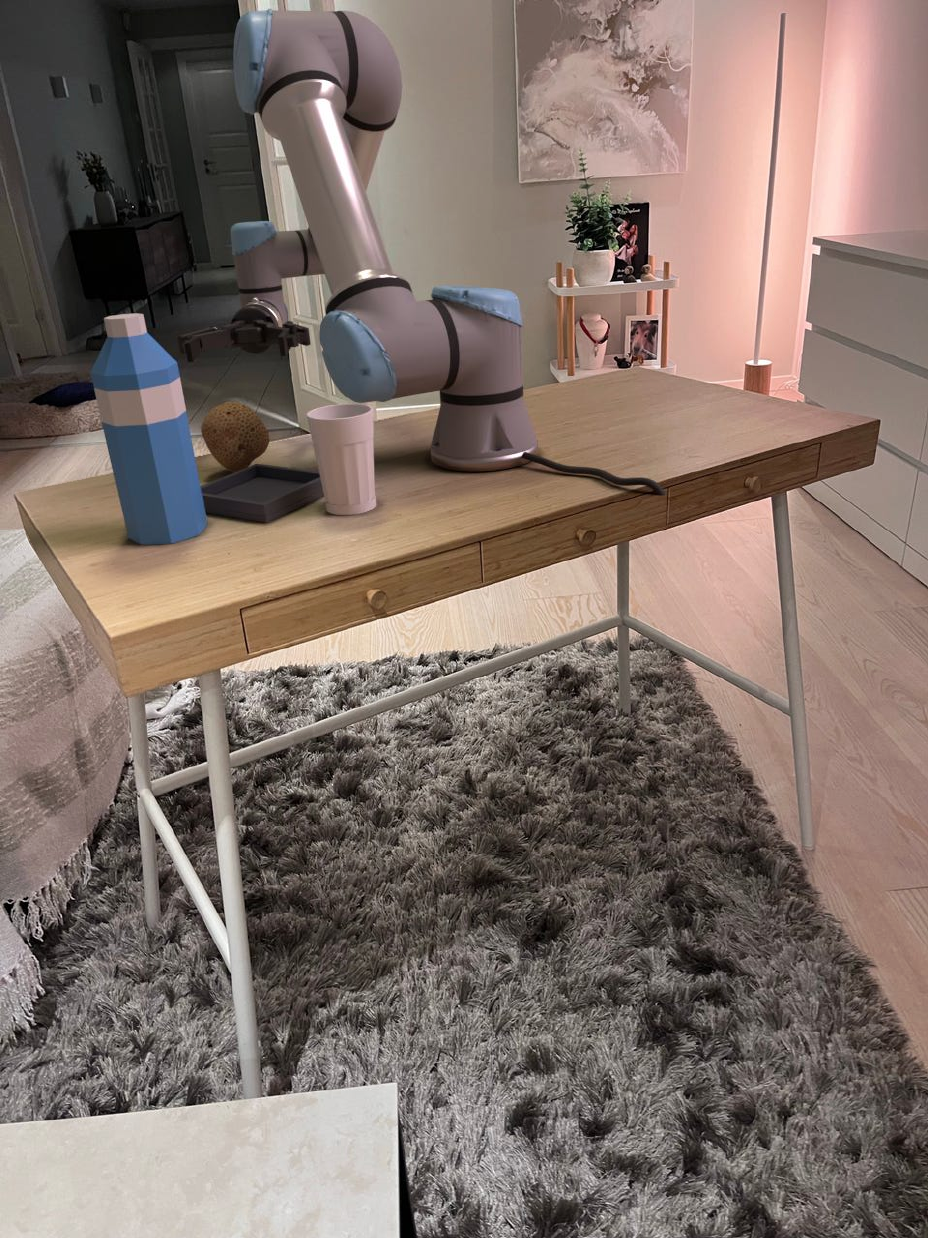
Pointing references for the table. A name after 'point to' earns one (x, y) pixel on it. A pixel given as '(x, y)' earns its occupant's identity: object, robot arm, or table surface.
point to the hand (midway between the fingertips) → (235, 349)
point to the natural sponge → (234, 435)
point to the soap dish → (261, 492)
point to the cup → (345, 456)
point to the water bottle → (147, 435)
